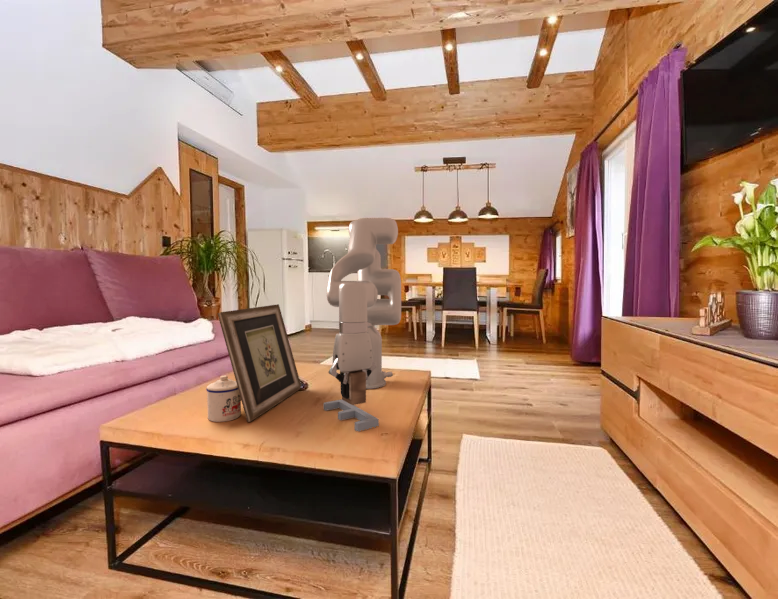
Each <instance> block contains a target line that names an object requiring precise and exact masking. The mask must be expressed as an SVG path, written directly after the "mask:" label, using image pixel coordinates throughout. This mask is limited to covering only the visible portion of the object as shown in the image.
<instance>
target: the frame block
mask: <svg viewBox="0 0 778 599" xmlns="http://www.w3.org/2000/svg"><path fill="white" fill-rule="evenodd" d="M347 383H348V384H349V399H346V398H344V397H342V396H341V399H342V400H344V401H346V402H347V403H349V404H351V405H354V406H357V405H361V404H366V403H367V389H366V373H365V372H362V371H353V372H349V376H348V381H347Z"/></svg>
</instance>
